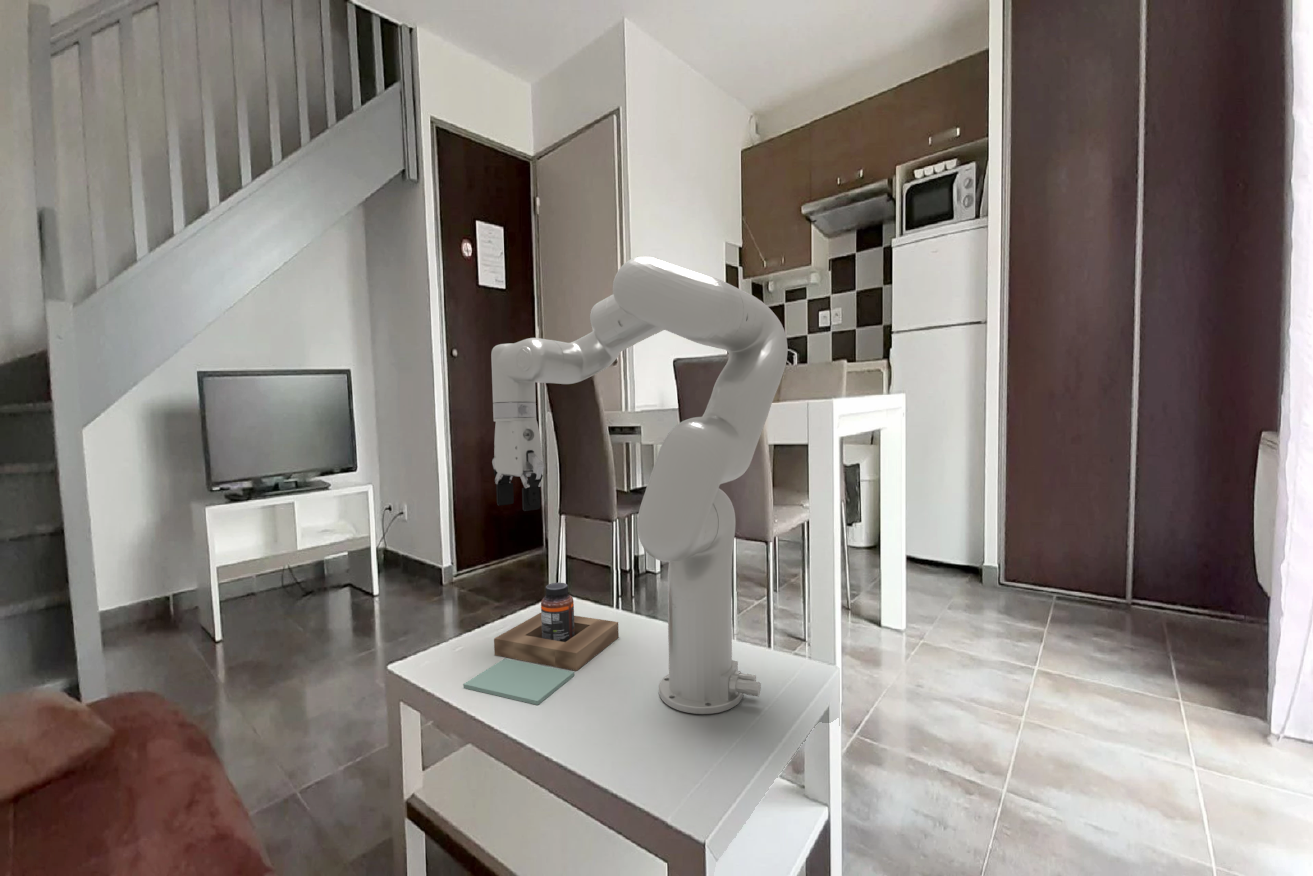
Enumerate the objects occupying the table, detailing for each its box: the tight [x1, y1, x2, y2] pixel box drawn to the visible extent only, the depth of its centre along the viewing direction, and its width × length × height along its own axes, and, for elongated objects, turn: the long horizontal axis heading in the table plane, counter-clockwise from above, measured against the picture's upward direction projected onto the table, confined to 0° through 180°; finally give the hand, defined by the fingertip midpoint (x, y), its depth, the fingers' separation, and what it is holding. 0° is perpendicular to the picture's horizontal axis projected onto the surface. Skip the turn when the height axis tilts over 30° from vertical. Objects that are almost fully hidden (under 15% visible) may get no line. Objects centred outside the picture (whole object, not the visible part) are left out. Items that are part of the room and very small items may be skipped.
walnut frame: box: [493, 612, 620, 672], centre depth 102 cm, size 17×15×3 cm
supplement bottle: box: [540, 582, 575, 642], centre depth 102 cm, size 6×6×11 cm
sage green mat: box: [462, 657, 575, 706], centre depth 89 cm, size 14×10×1 cm
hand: (518, 507), depth 101 cm, fingers open, 9 cm apart
